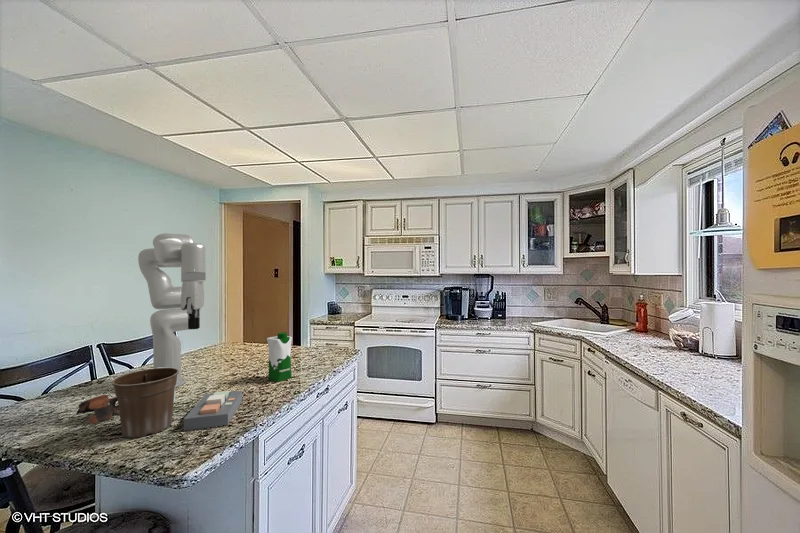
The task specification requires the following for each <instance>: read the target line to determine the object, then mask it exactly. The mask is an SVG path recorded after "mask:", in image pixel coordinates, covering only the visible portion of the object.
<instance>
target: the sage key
mask: <svg viewBox="0 0 800 533" xmlns="http://www.w3.org/2000/svg"><path fill="white" fill-rule="evenodd" d="M229 392H230V390H225V391H215V392H214V395H222V394H225V399H227V398H228V397H229Z"/></svg>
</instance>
